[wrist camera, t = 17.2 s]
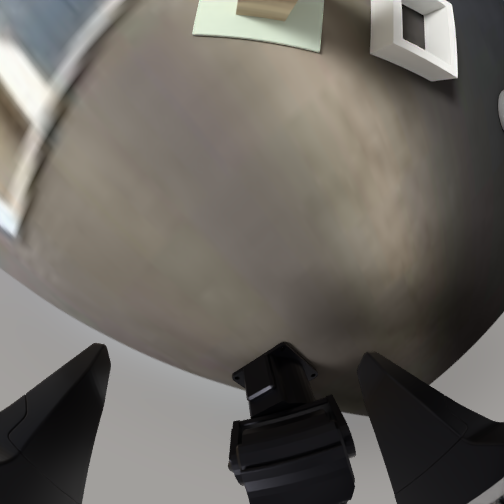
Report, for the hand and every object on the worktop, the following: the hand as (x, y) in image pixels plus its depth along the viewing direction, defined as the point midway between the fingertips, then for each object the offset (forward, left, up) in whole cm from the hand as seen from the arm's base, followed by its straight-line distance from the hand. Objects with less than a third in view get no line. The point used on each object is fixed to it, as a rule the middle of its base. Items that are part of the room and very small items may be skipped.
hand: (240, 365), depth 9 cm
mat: (+13, -14, -13) cm, 23 cm away
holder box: (+5, -23, -13) cm, 27 cm away
